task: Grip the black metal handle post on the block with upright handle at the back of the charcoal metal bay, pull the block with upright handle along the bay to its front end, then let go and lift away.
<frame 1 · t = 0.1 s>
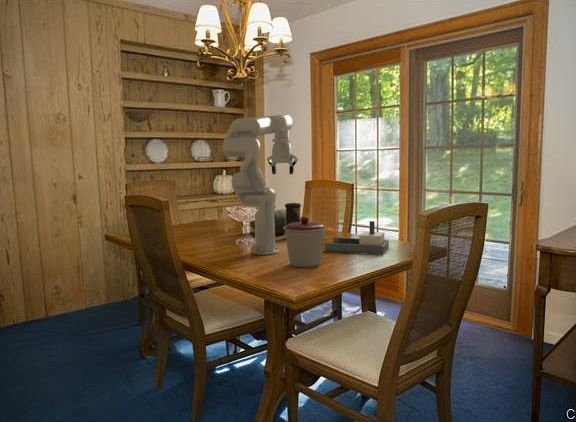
hand: (282, 174, 234), 37 cm above the table, fingers open, 9 cm apart
canister: (305, 265, 190), on the table
block with upright handle: (372, 234, 214), point 8 cm above the table, slide at 0.0 cm
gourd: (271, 234, 267), on the table
container: (293, 238, 252), on the table
bay: (357, 249, 218), on the table
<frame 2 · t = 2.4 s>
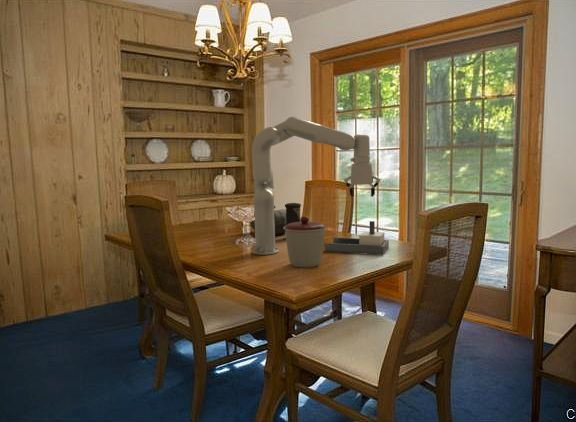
hand: (362, 196, 214), 26 cm above the table, fingers open, 9 cm apart
nothing on the table moved.
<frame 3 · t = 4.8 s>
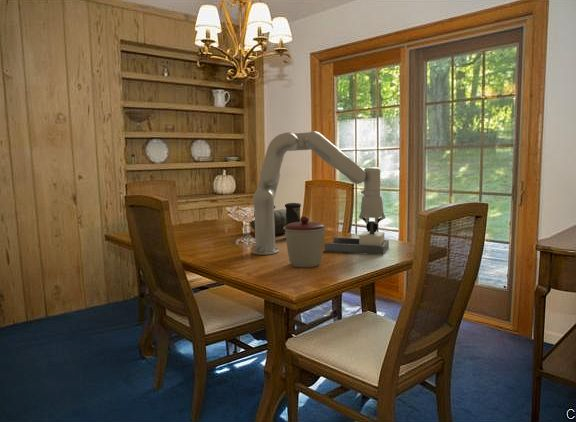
hand: (372, 231, 214), 9 cm above the table, fingers closed on block with upright handle, 2 cm apart
block with upright handle: (372, 234, 214), point 8 cm above the table, slide at 0.0 cm, touching gripper
everything else where it was.
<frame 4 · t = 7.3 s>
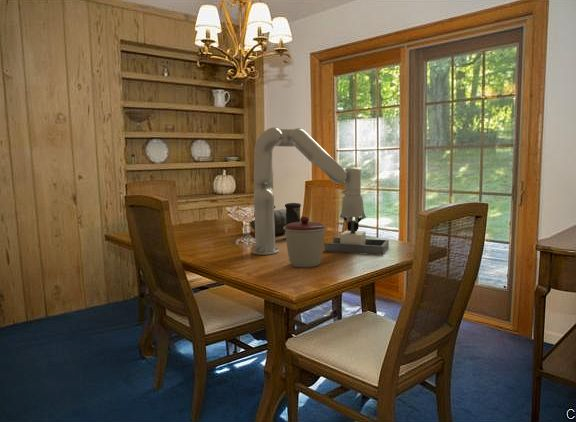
hand: (352, 230, 217), 9 cm above the table, fingers closed on block with upright handle, 2 cm apart
block with upright handle: (352, 233, 218), point 8 cm above the table, slide at 9.3 cm, touching gripper
everything else where it was.
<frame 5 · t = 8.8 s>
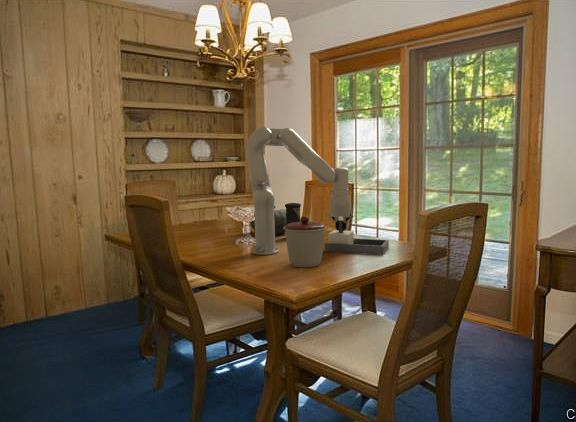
hand: (340, 229, 220), 9 cm above the table, fingers closed on block with upright handle, 2 cm apart
block with upright handle: (340, 233, 220), point 8 cm above the table, slide at 15.4 cm, touching gripper
everything else where it was.
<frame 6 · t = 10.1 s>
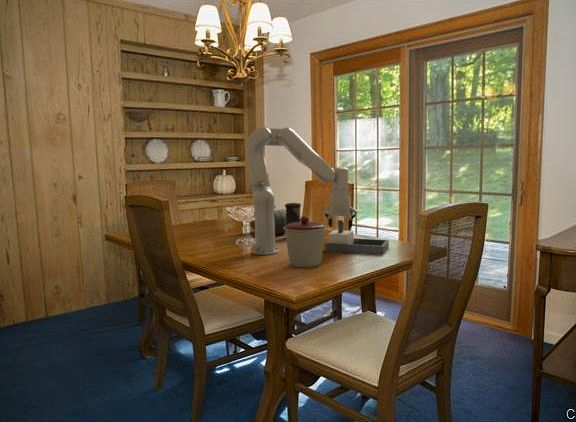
hand: (340, 227, 220), 11 cm above the table, fingers open, 9 cm apart
block with upright handle: (340, 233, 220), point 8 cm above the table, slide at 15.5 cm
everything else where it was.
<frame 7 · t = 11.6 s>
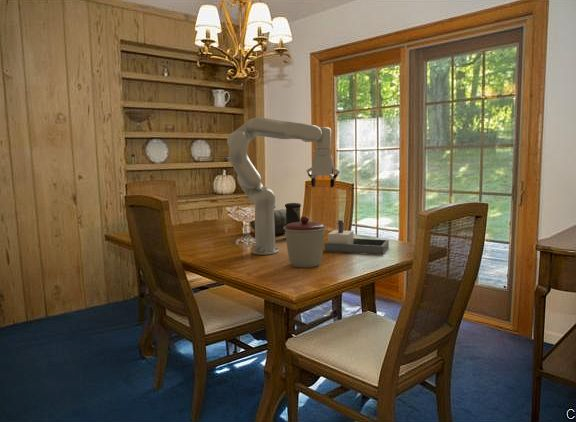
hand: (322, 187, 223), 30 cm above the table, fingers open, 9 cm apart
nothing on the table moved.
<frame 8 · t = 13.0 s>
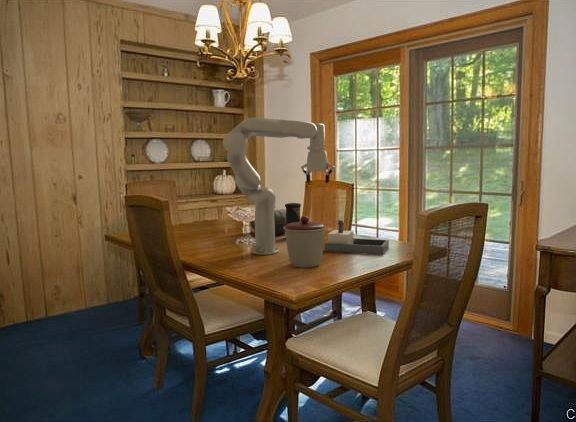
hand: (317, 182, 225), 32 cm above the table, fingers open, 9 cm apart
nothing on the table moved.
at the end: block with upright handle slide at 15.5 cm; the gripper is holding nothing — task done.
